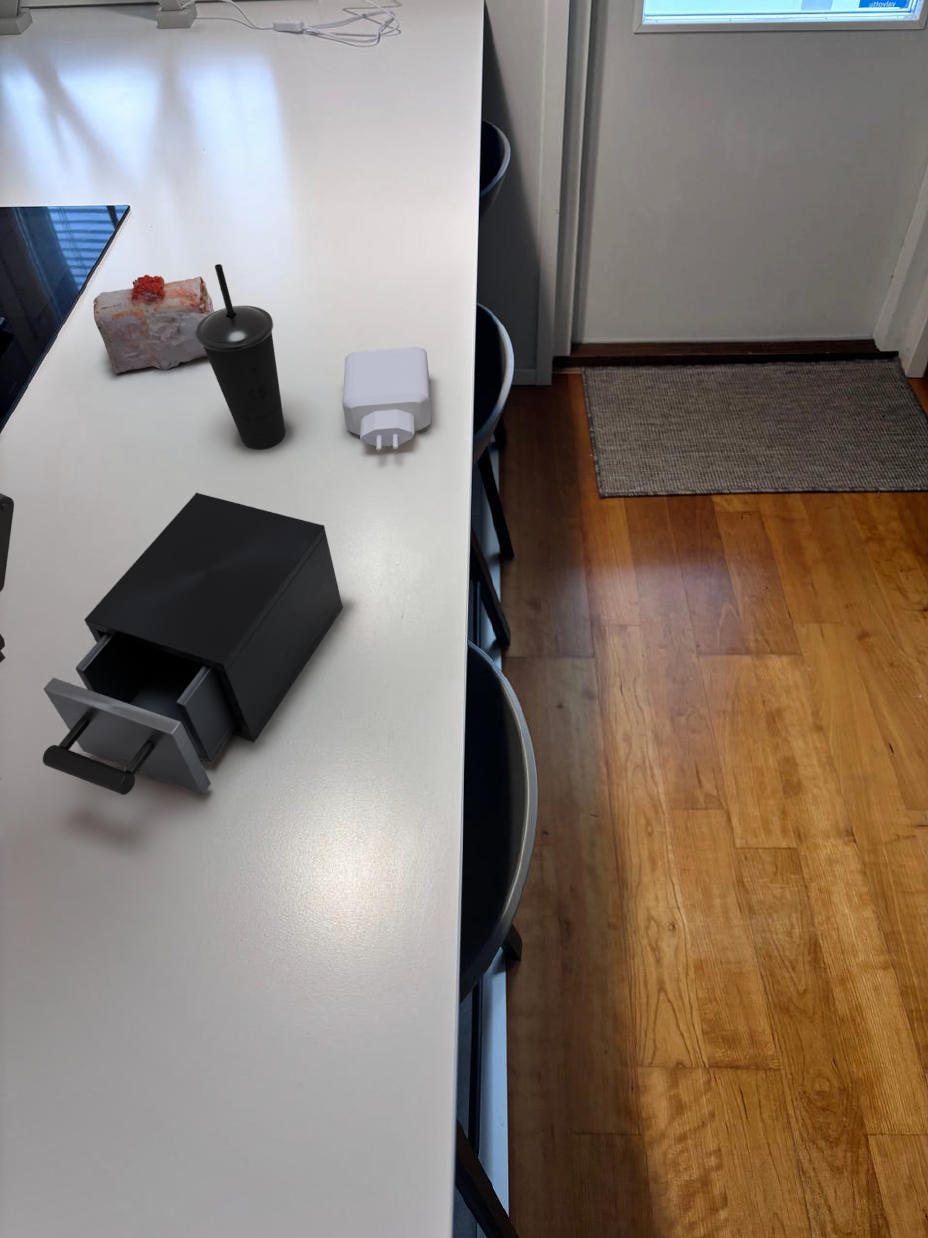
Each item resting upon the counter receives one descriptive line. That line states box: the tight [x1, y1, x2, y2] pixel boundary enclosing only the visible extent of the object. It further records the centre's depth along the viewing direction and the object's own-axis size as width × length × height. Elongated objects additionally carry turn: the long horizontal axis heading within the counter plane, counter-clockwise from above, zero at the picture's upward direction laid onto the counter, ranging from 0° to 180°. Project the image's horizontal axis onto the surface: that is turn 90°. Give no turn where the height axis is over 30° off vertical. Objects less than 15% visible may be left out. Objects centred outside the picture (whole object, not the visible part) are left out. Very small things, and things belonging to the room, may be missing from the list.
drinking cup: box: [196, 263, 286, 450], centre depth 97 cm, size 8×8×20 cm
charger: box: [342, 346, 432, 452], centre depth 103 cm, size 5×9×15 cm
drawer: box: [42, 633, 239, 796], centre depth 75 cm, size 19×12×8 cm, turn 157°
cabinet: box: [84, 492, 344, 743], centre depth 80 cm, size 16×13×10 cm
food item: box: [92, 274, 216, 375], centre depth 113 cm, size 14×8×10 cm, turn 104°
